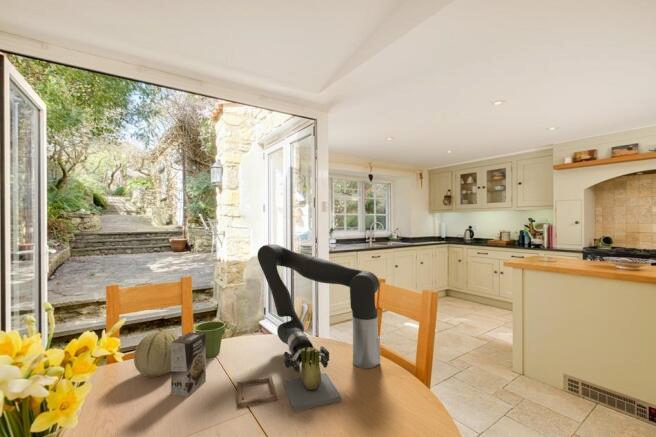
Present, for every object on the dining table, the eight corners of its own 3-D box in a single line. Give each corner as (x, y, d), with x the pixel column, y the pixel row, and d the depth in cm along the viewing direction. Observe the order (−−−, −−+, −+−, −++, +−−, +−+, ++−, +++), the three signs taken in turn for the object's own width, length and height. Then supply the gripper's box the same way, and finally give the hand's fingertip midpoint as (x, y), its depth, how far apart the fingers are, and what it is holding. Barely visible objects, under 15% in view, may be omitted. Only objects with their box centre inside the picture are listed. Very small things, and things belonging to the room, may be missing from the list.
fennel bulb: (299, 387, 92) (299, 348, 92) (310, 381, 96) (310, 343, 96) (312, 394, 88) (312, 354, 88) (324, 387, 92) (323, 348, 92)
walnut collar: (271, 379, 100) (271, 375, 100) (277, 399, 88) (277, 395, 88) (237, 385, 96) (237, 381, 96) (238, 407, 85) (238, 403, 85)
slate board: (326, 377, 101) (326, 373, 101) (341, 401, 87) (341, 396, 87) (284, 385, 96) (284, 380, 96) (293, 411, 83) (293, 406, 83)
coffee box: (188, 397, 90) (188, 343, 90) (170, 394, 92) (169, 342, 92) (206, 381, 99) (206, 332, 99) (189, 379, 101) (189, 331, 101)
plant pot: (232, 351, 122) (231, 323, 122) (206, 363, 112) (206, 333, 112) (213, 345, 128) (213, 319, 128) (187, 356, 118) (187, 327, 118)
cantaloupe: (138, 391, 94) (137, 343, 94) (130, 373, 105) (130, 330, 105) (188, 374, 104) (187, 331, 104) (176, 360, 115) (176, 320, 115)
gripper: (279, 338, 104) (289, 358, 88) (319, 332, 108) (334, 350, 93) (280, 359, 104) (289, 383, 88) (319, 353, 108) (334, 375, 93)
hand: (312, 366), depth 91 cm, fingers open, 8 cm apart
